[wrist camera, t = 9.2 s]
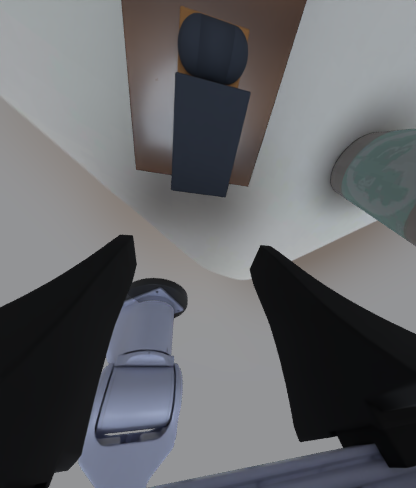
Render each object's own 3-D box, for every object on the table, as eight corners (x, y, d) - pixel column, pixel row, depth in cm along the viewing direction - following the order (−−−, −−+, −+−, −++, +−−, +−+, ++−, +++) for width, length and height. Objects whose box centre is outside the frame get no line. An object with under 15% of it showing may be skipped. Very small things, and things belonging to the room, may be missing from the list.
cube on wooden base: (215, 177, 13) (226, 199, 9) (174, 170, 12) (168, 192, 8) (240, 44, 9) (281, -17, 5) (181, 24, 8) (176, -62, 4)
